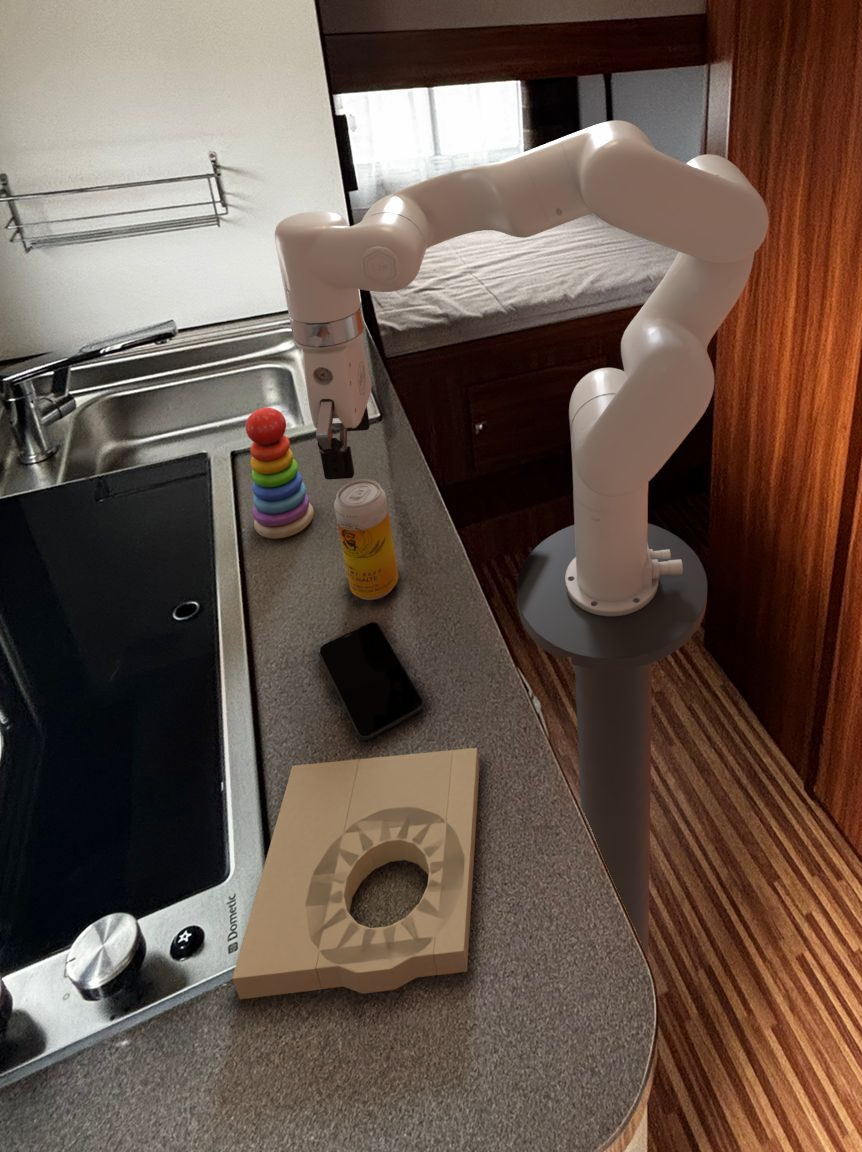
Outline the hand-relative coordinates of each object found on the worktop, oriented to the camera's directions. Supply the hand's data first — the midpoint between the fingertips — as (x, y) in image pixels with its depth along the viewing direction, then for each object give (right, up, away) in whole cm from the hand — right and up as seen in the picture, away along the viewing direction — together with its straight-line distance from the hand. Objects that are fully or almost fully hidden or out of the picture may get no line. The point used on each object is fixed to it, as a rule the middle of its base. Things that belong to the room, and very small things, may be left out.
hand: (348, 452), depth 97 cm
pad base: (+10, -34, -23) cm, 42 cm away
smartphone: (+4, -25, -5) cm, 26 cm away
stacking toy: (-16, -14, +20) cm, 29 cm away
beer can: (0, -19, +9) cm, 21 cm away
